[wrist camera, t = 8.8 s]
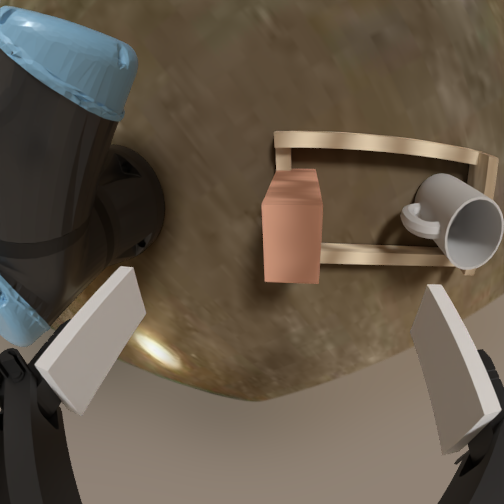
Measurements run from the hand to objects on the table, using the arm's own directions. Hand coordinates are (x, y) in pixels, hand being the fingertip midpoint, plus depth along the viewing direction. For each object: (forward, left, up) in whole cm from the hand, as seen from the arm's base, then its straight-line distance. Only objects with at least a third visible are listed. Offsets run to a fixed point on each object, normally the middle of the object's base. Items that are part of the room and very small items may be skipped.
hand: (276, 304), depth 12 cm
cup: (+16, -2, -21) cm, 26 cm away
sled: (+10, -1, -20) cm, 23 cm away
